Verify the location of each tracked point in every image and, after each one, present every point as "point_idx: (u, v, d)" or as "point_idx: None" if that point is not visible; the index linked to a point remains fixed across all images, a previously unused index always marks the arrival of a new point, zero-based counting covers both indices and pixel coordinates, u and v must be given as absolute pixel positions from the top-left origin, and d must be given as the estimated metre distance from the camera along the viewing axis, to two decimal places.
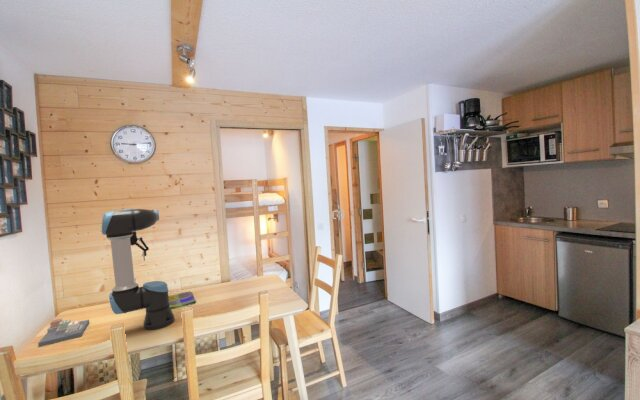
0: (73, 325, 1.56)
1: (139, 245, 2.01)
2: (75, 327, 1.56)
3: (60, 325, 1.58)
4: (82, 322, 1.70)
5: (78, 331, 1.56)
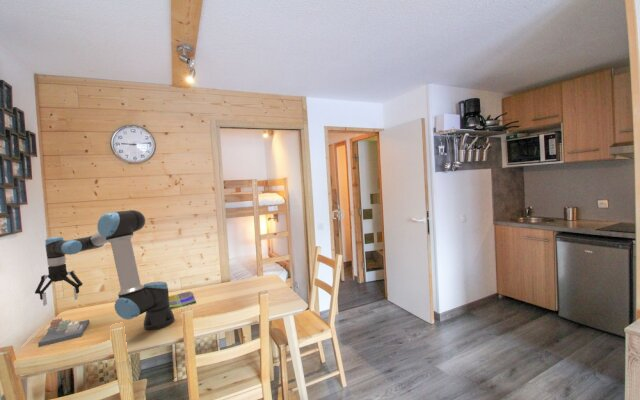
0: (73, 325, 1.56)
1: (69, 280, 1.67)
2: (75, 327, 1.56)
3: (60, 325, 1.58)
4: (82, 322, 1.70)
5: (78, 331, 1.56)
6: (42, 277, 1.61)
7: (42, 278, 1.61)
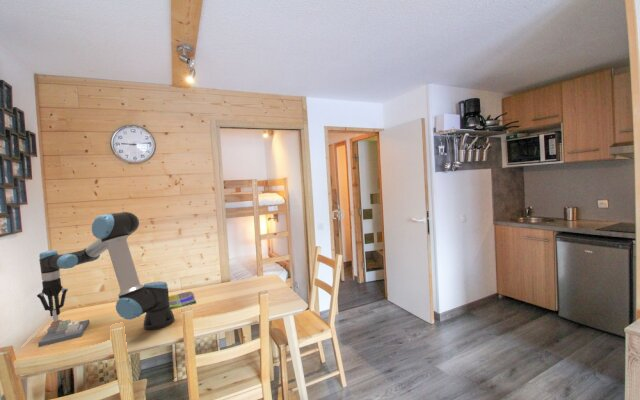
0: (73, 325, 1.56)
1: (57, 299, 1.63)
2: (75, 327, 1.56)
3: (60, 325, 1.58)
4: (82, 322, 1.70)
5: (78, 331, 1.56)
6: (38, 296, 1.59)
7: (39, 296, 1.59)
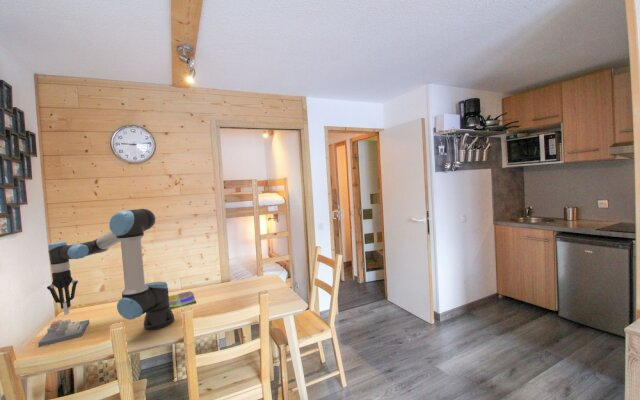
0: (73, 325, 1.56)
1: (67, 291, 1.59)
2: (75, 327, 1.56)
3: (60, 325, 1.58)
4: (82, 322, 1.70)
5: (78, 331, 1.56)
6: (48, 288, 1.55)
7: (49, 288, 1.56)
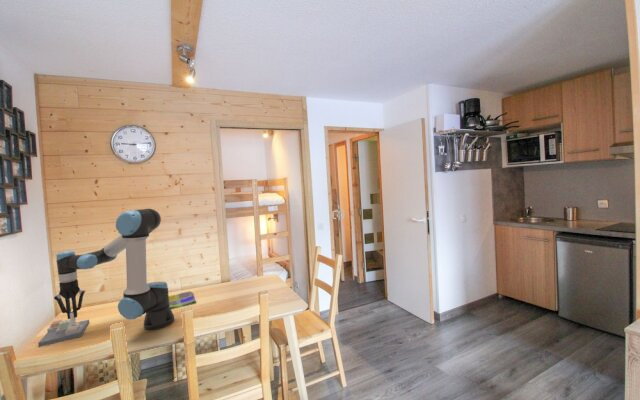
0: (73, 327, 1.56)
1: (74, 301, 1.57)
2: (75, 329, 1.57)
3: (60, 325, 1.58)
4: (82, 322, 1.70)
5: (78, 331, 1.56)
6: (55, 298, 1.53)
7: (56, 298, 1.54)
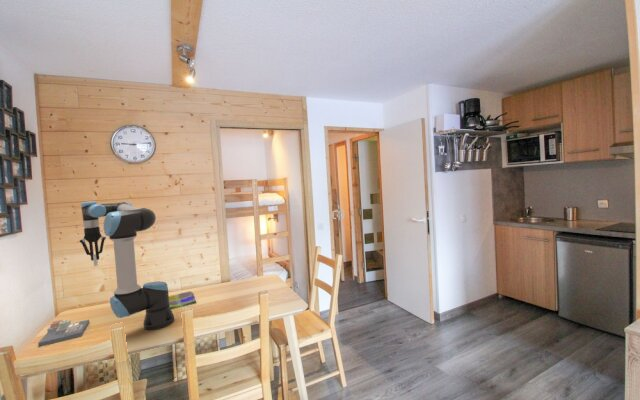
0: (73, 327, 1.56)
1: (97, 245, 1.79)
2: (75, 329, 1.57)
3: (60, 325, 1.58)
4: (82, 322, 1.70)
5: (78, 331, 1.56)
6: (81, 241, 1.76)
7: (81, 242, 1.76)
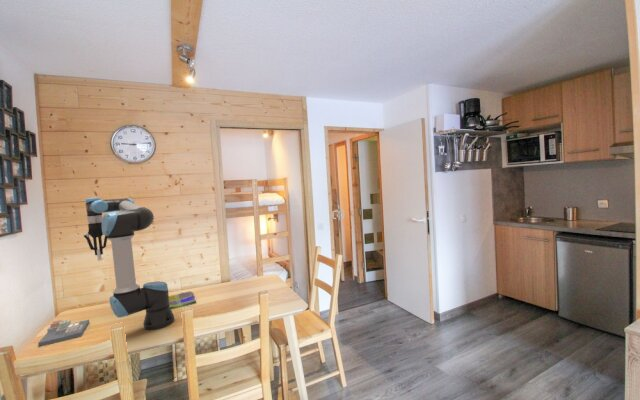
0: (73, 327, 1.56)
1: (100, 240, 1.84)
2: (75, 329, 1.57)
3: (60, 325, 1.58)
4: (82, 322, 1.70)
5: (78, 331, 1.56)
6: (85, 236, 1.80)
7: (86, 237, 1.80)
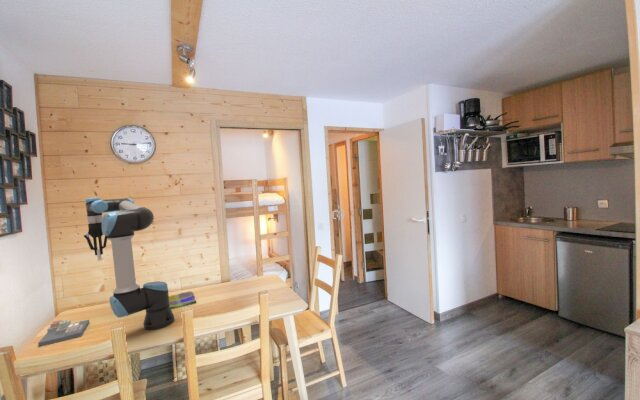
0: (73, 327, 1.56)
1: (100, 240, 1.84)
2: (75, 329, 1.57)
3: (60, 325, 1.58)
4: (82, 322, 1.70)
5: (78, 331, 1.56)
6: (85, 236, 1.80)
7: (86, 237, 1.80)
